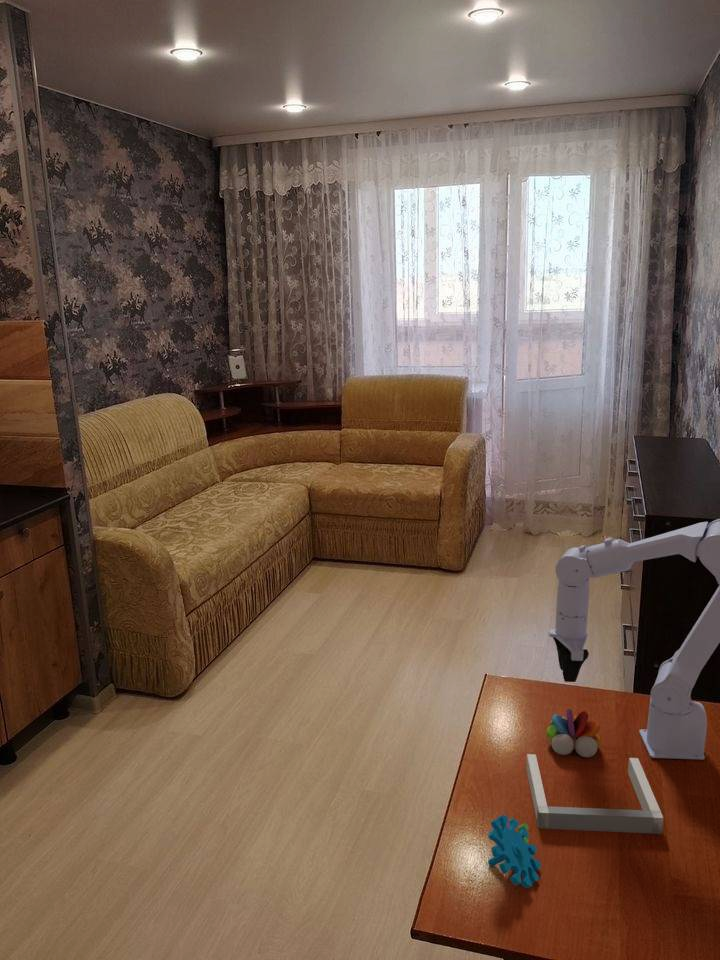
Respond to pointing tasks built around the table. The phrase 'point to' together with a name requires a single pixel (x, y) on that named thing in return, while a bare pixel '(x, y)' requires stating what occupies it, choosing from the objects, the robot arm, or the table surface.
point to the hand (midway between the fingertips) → (567, 675)
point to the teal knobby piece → (514, 851)
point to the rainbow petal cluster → (574, 734)
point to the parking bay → (594, 817)
